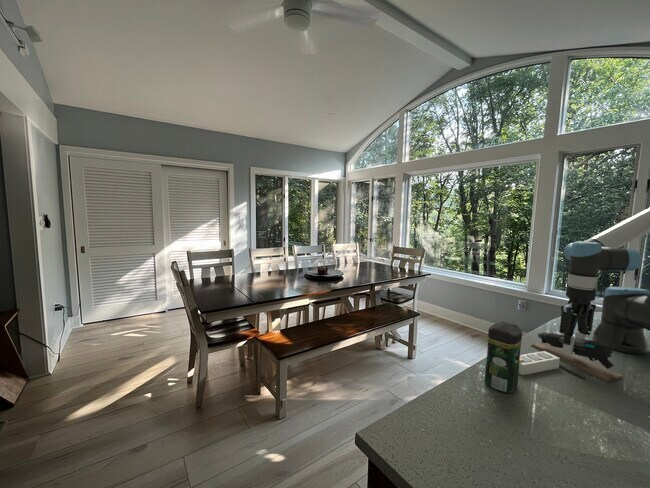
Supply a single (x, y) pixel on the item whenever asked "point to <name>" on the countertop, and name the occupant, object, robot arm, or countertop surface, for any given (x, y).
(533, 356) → the power strip
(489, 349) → the coffee jar
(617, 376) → the walnut board
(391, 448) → the countertop surface
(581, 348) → the gun
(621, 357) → the countertop surface
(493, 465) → the countertop surface
